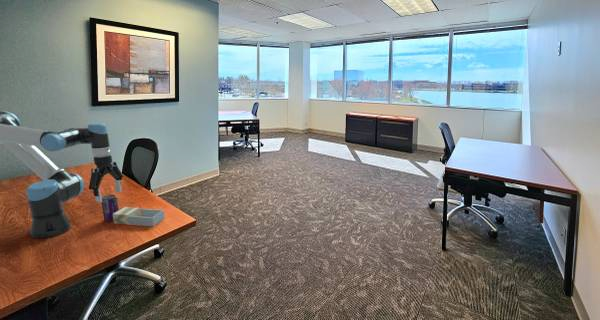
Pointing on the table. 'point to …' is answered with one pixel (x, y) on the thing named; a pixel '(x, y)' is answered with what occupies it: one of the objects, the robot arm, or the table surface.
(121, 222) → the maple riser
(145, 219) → the cradle tray
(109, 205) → the beverage can
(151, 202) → the table surface
